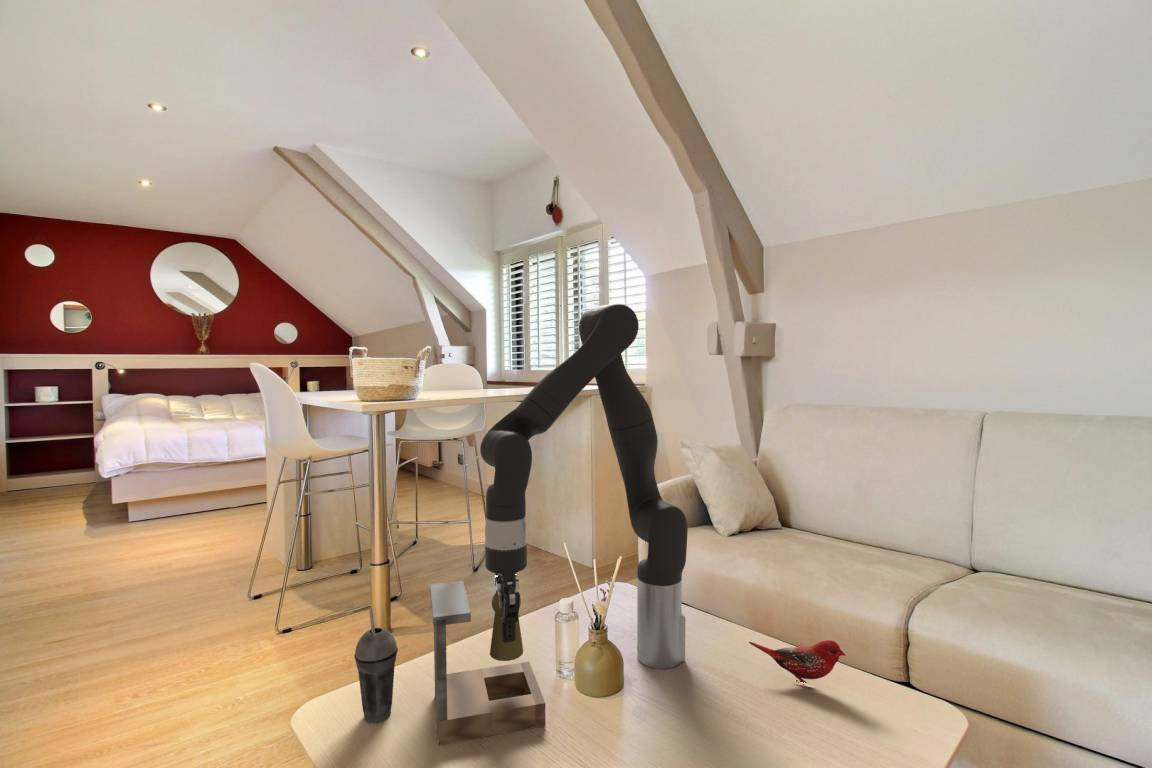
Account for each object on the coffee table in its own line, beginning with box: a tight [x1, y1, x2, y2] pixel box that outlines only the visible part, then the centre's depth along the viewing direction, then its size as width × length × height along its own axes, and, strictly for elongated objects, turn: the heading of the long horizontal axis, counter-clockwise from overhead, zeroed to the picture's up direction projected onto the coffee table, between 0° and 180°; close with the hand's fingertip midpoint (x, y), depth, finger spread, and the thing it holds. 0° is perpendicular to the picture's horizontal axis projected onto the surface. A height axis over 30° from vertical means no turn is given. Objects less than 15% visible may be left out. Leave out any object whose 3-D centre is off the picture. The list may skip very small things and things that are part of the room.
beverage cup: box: [353, 607, 399, 724], centre depth 102 cm, size 7×7×20 cm
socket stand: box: [429, 580, 546, 746], centre depth 103 cm, size 18×14×22 cm
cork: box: [489, 592, 524, 662], centre depth 104 cm, size 6×6×11 cm
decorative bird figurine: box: [748, 639, 847, 683], centre depth 112 cm, size 3×18×10 cm, turn 62°
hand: (506, 634), depth 104 cm, fingers closed on cork, 4 cm apart
